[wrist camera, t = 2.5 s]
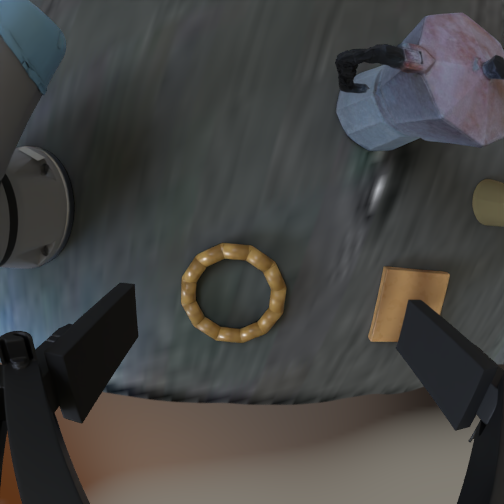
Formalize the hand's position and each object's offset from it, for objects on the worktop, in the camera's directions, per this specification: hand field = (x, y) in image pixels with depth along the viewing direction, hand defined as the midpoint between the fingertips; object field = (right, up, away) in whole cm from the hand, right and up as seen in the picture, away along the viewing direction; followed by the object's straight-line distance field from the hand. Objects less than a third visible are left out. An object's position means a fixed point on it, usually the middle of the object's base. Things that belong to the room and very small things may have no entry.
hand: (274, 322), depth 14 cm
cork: (+29, +10, +18) cm, 36 cm away
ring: (-3, -1, +20) cm, 20 cm away
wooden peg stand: (+18, -3, +21) cm, 28 cm away
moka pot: (+12, +18, +16) cm, 27 cm away
